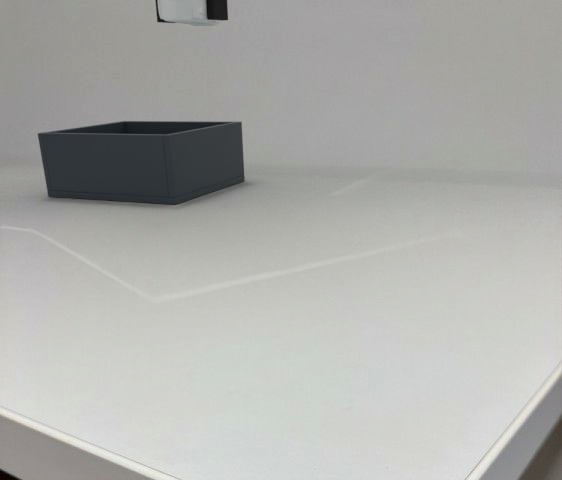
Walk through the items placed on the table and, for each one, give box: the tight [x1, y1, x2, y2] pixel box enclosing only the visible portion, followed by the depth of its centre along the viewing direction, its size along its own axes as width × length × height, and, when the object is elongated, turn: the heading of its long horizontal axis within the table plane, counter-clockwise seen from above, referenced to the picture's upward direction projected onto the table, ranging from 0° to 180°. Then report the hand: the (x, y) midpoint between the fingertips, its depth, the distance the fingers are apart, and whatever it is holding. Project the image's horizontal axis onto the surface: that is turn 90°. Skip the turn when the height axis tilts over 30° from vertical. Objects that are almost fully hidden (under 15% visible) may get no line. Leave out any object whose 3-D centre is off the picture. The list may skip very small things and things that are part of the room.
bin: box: [37, 120, 246, 206], centre depth 91 cm, size 20×18×8 cm
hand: (192, 20), depth 68 cm, fingers closed on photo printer, 5 cm apart
